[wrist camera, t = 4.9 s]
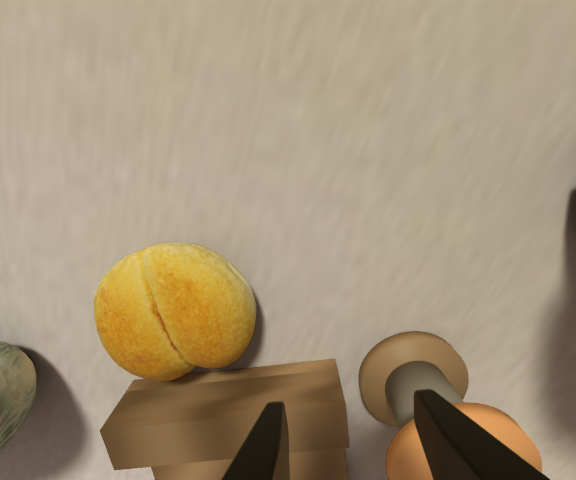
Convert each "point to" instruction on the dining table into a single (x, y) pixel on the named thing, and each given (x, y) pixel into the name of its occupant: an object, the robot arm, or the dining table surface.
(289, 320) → the dining table surface
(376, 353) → the orange capped knob
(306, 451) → the notch board
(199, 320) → the bread roll
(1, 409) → the spool
